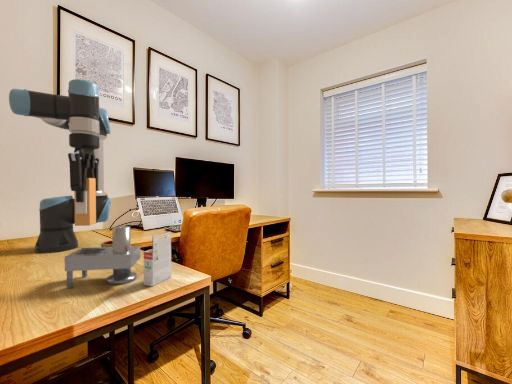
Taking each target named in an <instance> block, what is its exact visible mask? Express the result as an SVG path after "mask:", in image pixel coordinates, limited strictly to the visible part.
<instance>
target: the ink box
mask: <svg viewBox="0 0 512 384" xmlns="http://www.w3.org/2000/svg"><path fill="white" fill-rule="evenodd" d="M171 233H172V232H171V230H170V231H167V232H163V233H159V234H154V235H152V236H151V238H152V241H151V242H152V249H148V250H145V251H143V285H145V286H148V287H154V286H157V285H159V284H161V283H163V282H165V281H167V280H169V279H170V278H172V234H171ZM162 236H165V237H163V238H161V237H162Z"/></svg>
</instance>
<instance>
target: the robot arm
mask: <svg viewBox="0 0 512 384" xmlns="http://www.w3.org/2000/svg"><path fill="white" fill-rule="evenodd" d="M67 89H68V90H67V93H68V96H67V95H60V94H53V93H47V92H40V91H34V90H29V89H26V88H24V89H19V88H12V89H11V90H10V91H9V94H8V102H9V107H10V110H11V112H12V113H13V114H15V115H18V116H24V117H33V118H37V119H39V120H41V121H42V122H44V123H45V124H47V125H50V126H53V127H56V128H59V129H61V130H65V131H66V130H67V131H68V132H70V133H69V135H68V145H69V147H71V148H74V150H73V152H71V153H70V152H69V153H68V154H67V157H68V162H69V183H70V184H69V186H70V191H72V192H74V191H76V214H87V191H85V187H86V178H96V224H98V223H105V222H107V221H108V220H109V219H110V218H109V217H110V210H111V203H112V198H110V197H108V193H107V192H106V191H105V187H104V181H105V179H104V177H105V176H104V171H105V170H104V141H105V140H106V139H107V137H108V135H110V134H111V127H110V121H109V116H108V111H107V110H106V109H105V108H102V107H100V92H99V87H98V85H97V84H95V82H91V81H89V80H86V79H85V80H84V79H80V78H79V79H76V78H74V79H71V80H69V82H68V88H67ZM38 211H39V235H38V237H37V240H36V243H35V246H34V251H35V252H36V253H43V254H44V253H45V254H46V253H58V252H64V251H70V250H73V249H76V248H78V247H79V241H78V238H77V235H76V233H75V230H74V225H75V202H74V197H73V195H64V196H62V195H61V196H54V197H48V198H47V197H46V198H43V199H41V200H40V202H39V209H38Z"/></svg>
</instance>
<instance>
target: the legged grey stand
mask: <svg viewBox="0 0 512 384" xmlns="http://www.w3.org/2000/svg"><path fill="white" fill-rule="evenodd" d="M111 231H112V233H111V234H112V241H113V247H101V246H100V247H96V246H95V247H81V248H80V249H78V250H76V251H73V252H72V253H69V254H68V255H66V256H64V272H66V289H69V290H70V289H73V287H74V285H73V284H74V278H73V277H74V274H73V272H76V271H79V272H81V277H82V278H87V277H88V271H97V270H98V271H99V270H100V271H101V270H112V274H110V275H109V276H107V277H106V283H107V284H108V285H112V286H117V285H118V286H120V285H126V284H129V283H131V282H135V280H137V273H136V272H133V271H132V270H131V269H132V267H134V265H135V264H136V263H137V262H138V261H140V260H141V245H131V244H132V243H131V226H130V225H129V226H128V225H123V226H121V225H119V226H114V227H112V230H111Z"/></svg>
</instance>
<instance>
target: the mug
mask: <svg viewBox="0 0 512 384" xmlns="http://www.w3.org/2000/svg"><path fill="white" fill-rule="evenodd" d="M100 247H113V240H107V241H103V242H101V243H100Z"/></svg>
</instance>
